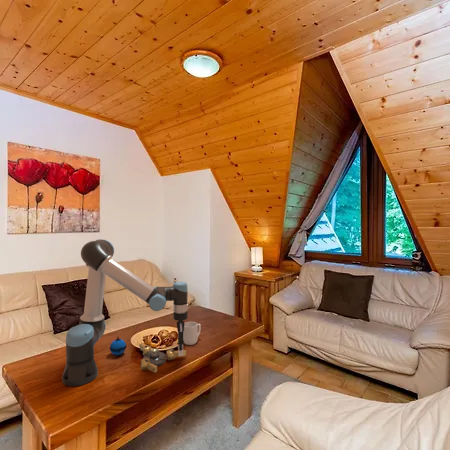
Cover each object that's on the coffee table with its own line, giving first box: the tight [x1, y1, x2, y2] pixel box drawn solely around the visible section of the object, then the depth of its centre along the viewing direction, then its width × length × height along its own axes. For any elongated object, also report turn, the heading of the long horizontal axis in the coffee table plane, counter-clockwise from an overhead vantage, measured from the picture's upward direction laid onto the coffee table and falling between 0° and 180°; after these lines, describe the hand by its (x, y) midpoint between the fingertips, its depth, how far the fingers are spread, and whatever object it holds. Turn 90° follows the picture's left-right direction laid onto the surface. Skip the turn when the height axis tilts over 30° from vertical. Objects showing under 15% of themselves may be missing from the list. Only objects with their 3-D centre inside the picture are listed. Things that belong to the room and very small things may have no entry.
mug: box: [183, 321, 202, 346], centre depth 174 cm, size 12×9×11 cm
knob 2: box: [140, 358, 158, 373], centre depth 140 cm, size 10×4×4 cm, turn 53°
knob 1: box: [138, 343, 152, 357], centre depth 158 cm, size 10×4×4 cm, turn 42°
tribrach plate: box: [142, 348, 167, 367], centre depth 150 cm, size 12×12×6 cm
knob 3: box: [166, 349, 187, 361], centre depth 152 cm, size 10×4×4 cm, turn 108°
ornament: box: [109, 336, 127, 356], centre depth 157 cm, size 9×9×10 cm
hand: (180, 355), depth 152 cm, fingers closed
